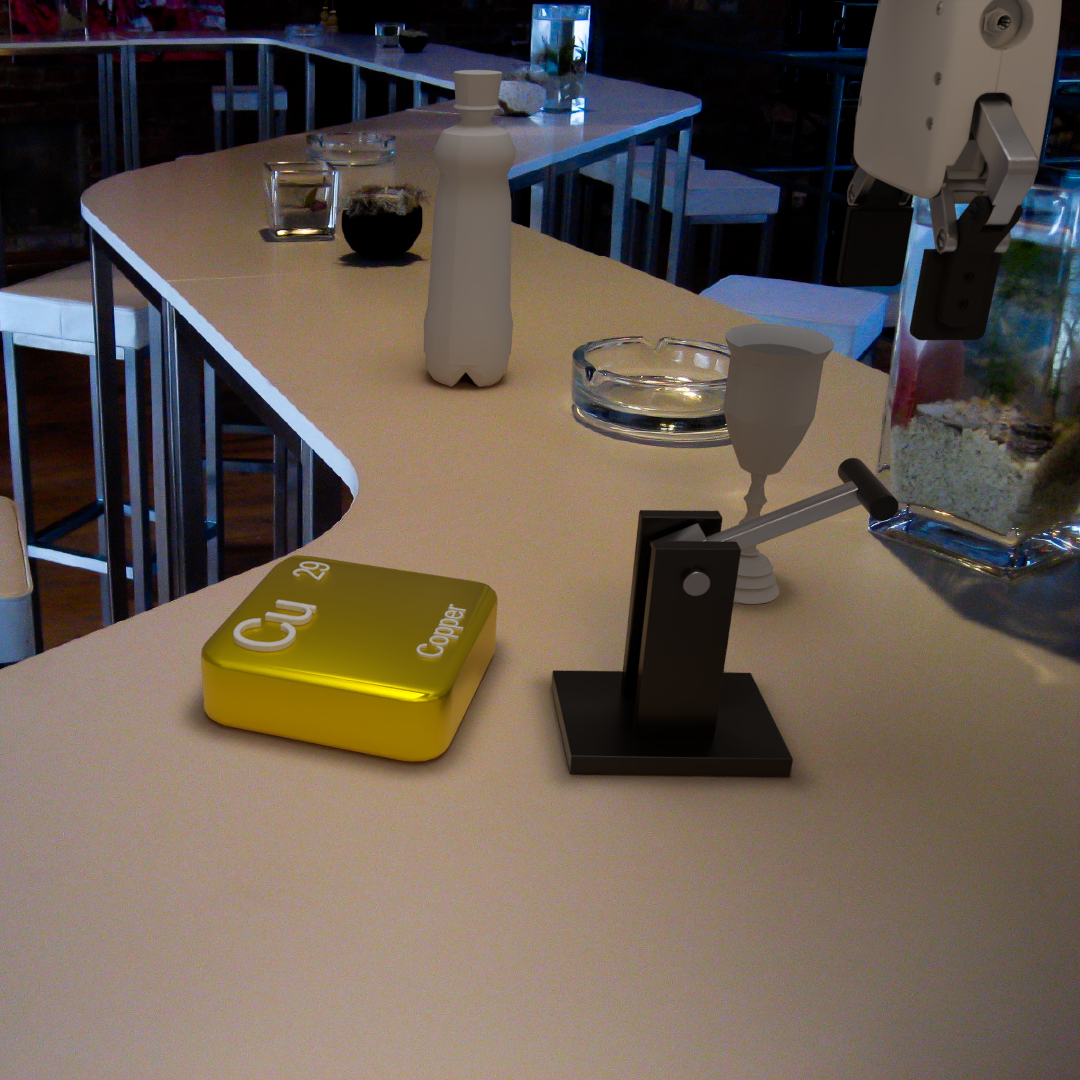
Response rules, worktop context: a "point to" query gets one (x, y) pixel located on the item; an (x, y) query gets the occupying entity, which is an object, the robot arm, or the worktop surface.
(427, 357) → the bottle
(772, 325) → the chalice
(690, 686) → the bracket
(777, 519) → the lever
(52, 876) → the worktop surface
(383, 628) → the element tile
